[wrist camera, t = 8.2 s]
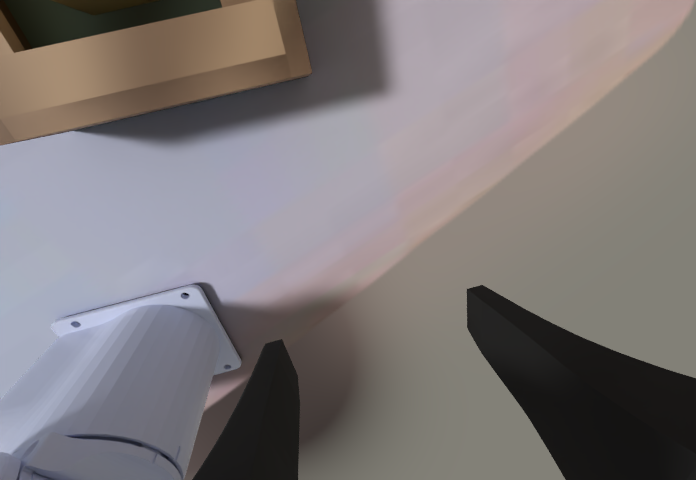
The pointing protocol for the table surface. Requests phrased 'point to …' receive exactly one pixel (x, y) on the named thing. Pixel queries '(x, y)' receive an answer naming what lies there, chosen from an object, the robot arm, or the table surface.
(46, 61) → the piece box
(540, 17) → the table surface
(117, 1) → the yellow dimpled cube
